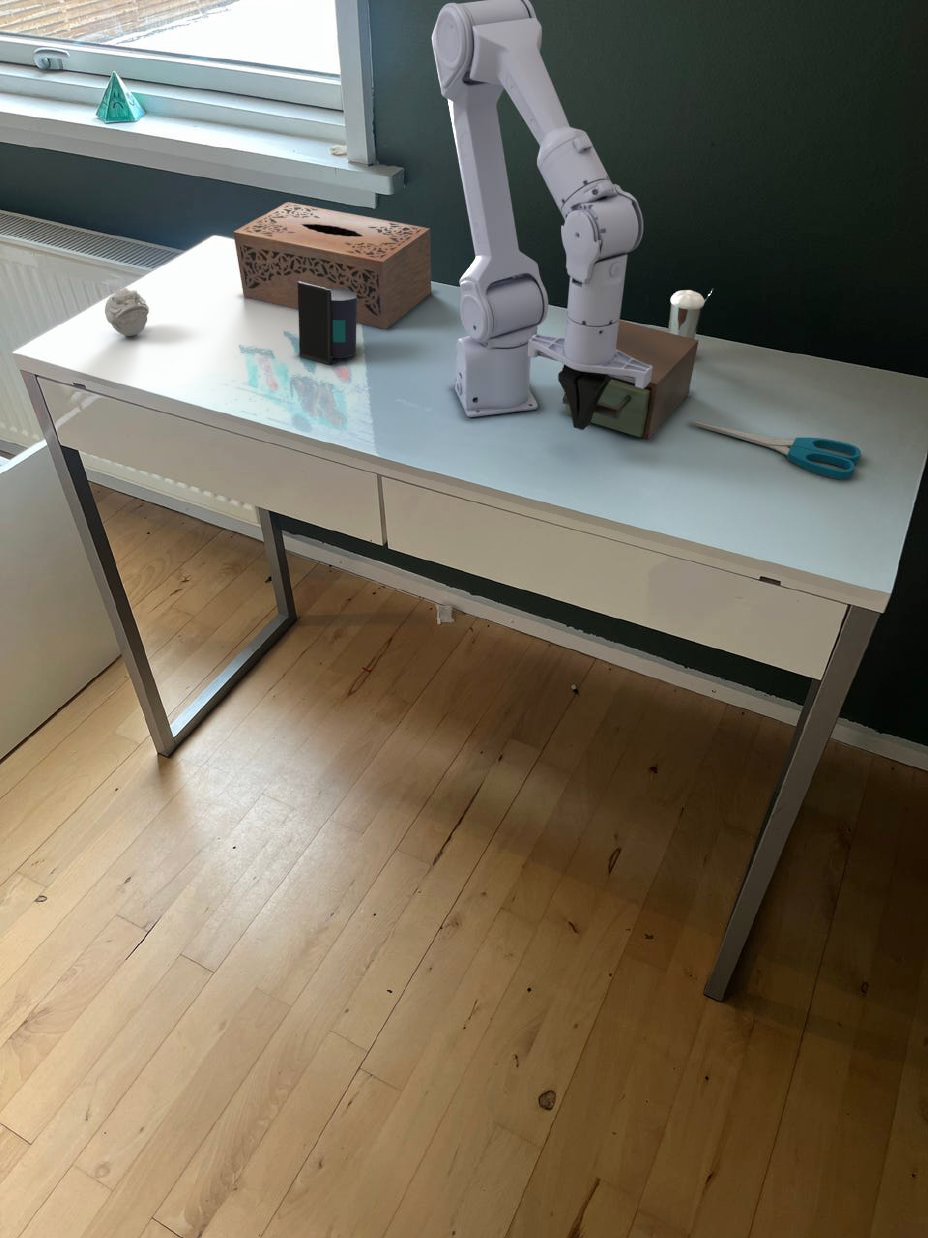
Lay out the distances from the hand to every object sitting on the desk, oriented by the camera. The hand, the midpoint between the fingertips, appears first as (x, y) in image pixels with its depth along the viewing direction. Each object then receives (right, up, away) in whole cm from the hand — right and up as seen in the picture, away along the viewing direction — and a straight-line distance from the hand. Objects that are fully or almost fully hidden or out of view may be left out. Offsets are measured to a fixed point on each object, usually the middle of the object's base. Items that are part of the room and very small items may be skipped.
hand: (581, 424), depth 109 cm
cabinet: (+8, +5, +12) cm, 15 cm away
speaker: (-33, +15, +22) cm, 42 cm away
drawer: (+5, +3, +9) cm, 11 cm away
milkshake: (+17, +14, +22) cm, 31 cm away
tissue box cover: (-34, +28, +37) cm, 57 cm away
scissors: (+24, -2, +4) cm, 24 cm away
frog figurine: (-63, +19, +26) cm, 70 cm away
